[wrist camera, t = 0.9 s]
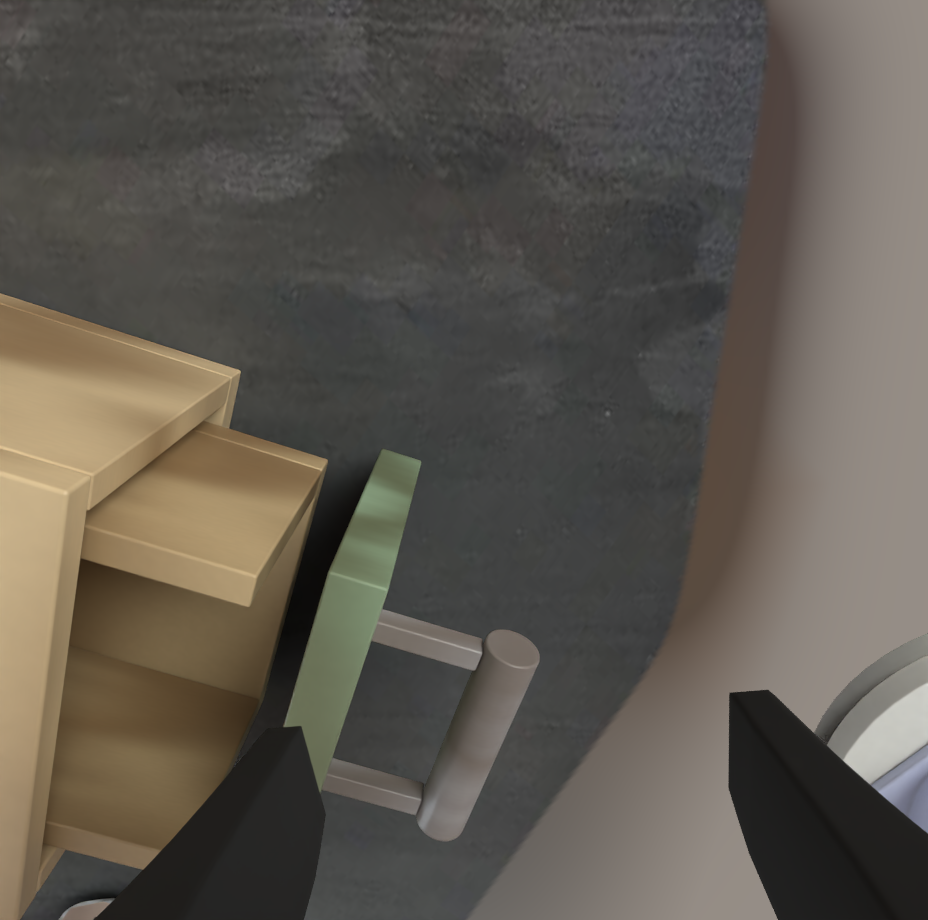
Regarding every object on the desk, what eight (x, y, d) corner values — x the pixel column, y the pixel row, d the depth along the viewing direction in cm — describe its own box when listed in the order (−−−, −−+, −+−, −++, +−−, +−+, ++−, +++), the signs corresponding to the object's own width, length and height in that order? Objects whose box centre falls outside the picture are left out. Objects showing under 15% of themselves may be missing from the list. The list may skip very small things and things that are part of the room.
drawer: (557, 503, 20) (588, 649, 13) (448, 762, 23) (432, 973, 17) (-20, 319, 18) (-290, 386, 12) (-39, 625, 22) (-252, 799, 16)
